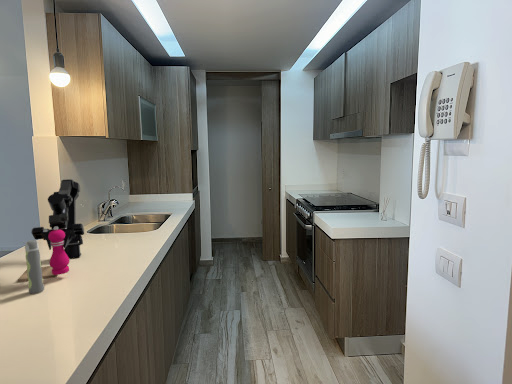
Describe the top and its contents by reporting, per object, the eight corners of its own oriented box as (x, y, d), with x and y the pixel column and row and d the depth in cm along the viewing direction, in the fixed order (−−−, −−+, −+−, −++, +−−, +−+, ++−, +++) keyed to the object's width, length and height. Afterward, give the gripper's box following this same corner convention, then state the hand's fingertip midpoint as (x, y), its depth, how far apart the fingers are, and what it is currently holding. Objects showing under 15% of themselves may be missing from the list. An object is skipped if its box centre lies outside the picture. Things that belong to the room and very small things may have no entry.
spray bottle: (41, 287, 128) (36, 238, 126) (46, 291, 125) (40, 240, 123) (27, 292, 124) (21, 241, 122) (31, 295, 121) (25, 243, 119)
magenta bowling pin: (67, 267, 143) (63, 223, 140) (72, 272, 138) (67, 226, 135) (48, 272, 138) (43, 226, 135) (52, 277, 133) (47, 229, 130)
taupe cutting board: (63, 266, 152) (62, 264, 152) (56, 277, 139) (56, 274, 139) (27, 271, 147) (27, 268, 147) (17, 282, 134) (17, 279, 134)
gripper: (30, 208, 134) (24, 241, 126) (80, 205, 141) (79, 236, 132) (37, 223, 143) (33, 255, 134) (84, 219, 149) (83, 249, 141)
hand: (57, 248), depth 135 cm, fingers closed on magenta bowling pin, 5 cm apart
